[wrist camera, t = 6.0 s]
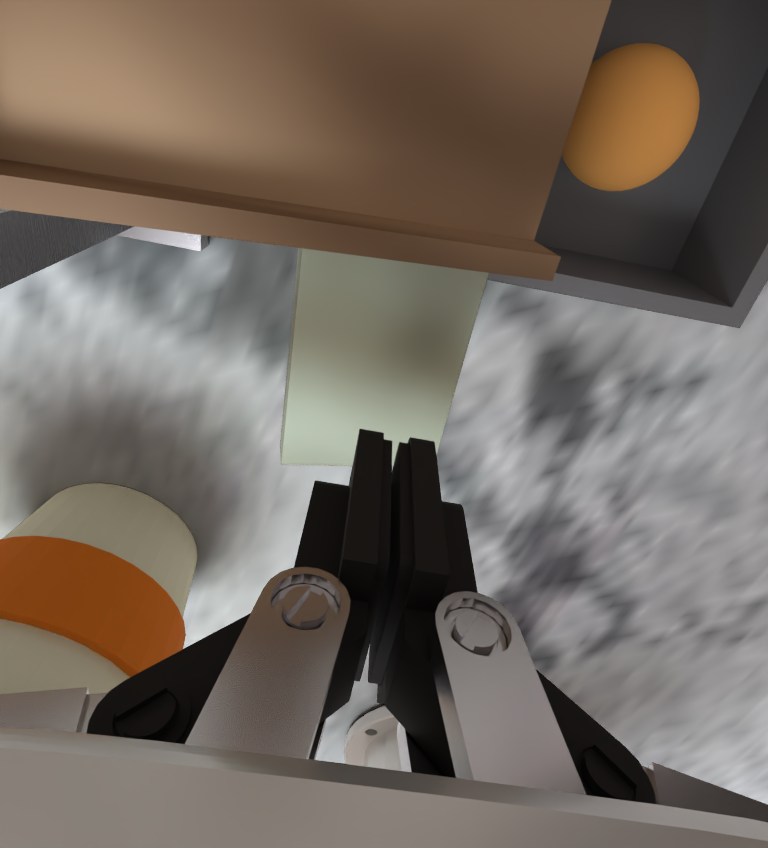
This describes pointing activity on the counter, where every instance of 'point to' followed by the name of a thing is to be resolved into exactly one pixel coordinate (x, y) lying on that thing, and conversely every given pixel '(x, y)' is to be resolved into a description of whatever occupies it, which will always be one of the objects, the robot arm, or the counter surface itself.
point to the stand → (66, 240)
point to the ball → (632, 117)
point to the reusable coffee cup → (92, 590)
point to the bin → (678, 179)
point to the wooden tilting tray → (314, 165)
